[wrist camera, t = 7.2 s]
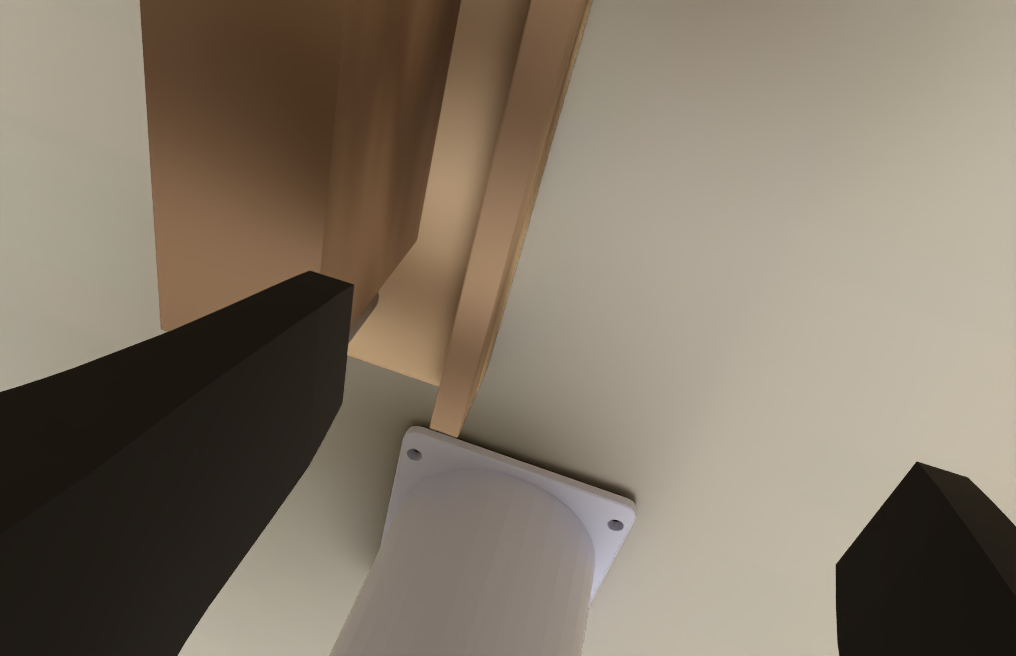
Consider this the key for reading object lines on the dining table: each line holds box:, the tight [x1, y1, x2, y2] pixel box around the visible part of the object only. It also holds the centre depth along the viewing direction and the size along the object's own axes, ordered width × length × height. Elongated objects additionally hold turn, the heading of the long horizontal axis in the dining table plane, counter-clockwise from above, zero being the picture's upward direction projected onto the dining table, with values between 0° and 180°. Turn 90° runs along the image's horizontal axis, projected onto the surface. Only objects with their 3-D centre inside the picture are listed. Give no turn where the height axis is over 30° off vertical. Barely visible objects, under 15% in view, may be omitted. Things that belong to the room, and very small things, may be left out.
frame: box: [140, 0, 461, 332], centre depth 13 cm, size 10×3×6 cm, turn 166°
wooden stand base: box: [347, 0, 592, 438], centre depth 15 cm, size 18×7×4 cm, turn 167°
